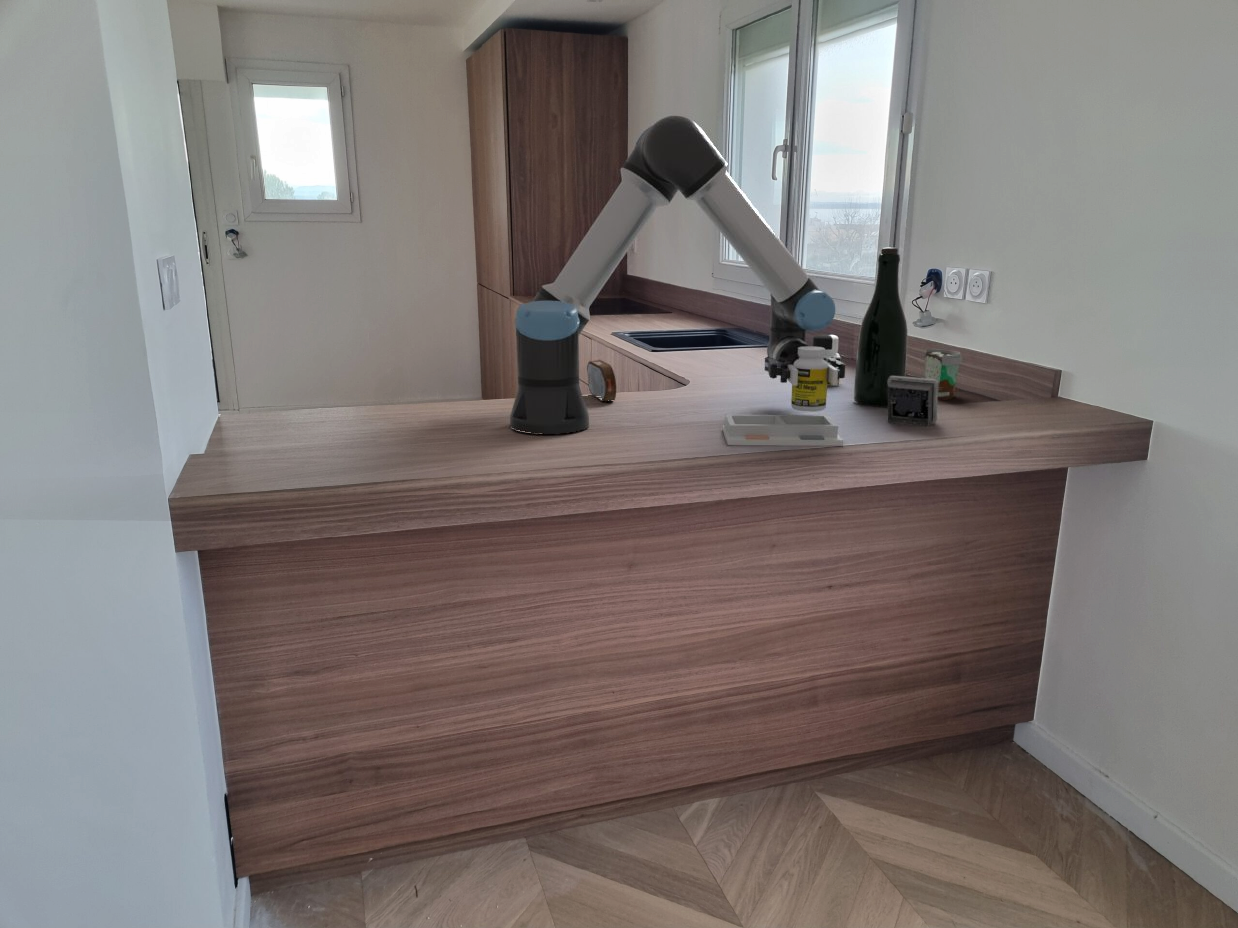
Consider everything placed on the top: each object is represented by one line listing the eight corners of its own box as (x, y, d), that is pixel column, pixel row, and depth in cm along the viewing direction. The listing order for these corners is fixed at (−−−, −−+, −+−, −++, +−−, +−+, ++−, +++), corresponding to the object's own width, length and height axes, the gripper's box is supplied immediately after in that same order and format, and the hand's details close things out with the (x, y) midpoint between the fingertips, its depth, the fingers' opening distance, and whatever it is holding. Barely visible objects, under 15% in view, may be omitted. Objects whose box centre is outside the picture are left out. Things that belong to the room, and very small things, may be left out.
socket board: (727, 445, 149) (728, 428, 149) (722, 430, 161) (723, 414, 160) (842, 445, 149) (844, 429, 148) (829, 430, 160) (830, 415, 159)
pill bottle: (790, 411, 152) (792, 349, 149) (791, 405, 158) (793, 345, 155) (826, 412, 151) (829, 350, 148) (825, 406, 157) (828, 345, 154)
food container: (967, 401, 189) (971, 355, 186) (939, 401, 189) (943, 356, 186) (947, 391, 200) (951, 348, 198) (921, 391, 201) (924, 348, 198)
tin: (617, 404, 187) (617, 366, 184) (603, 405, 186) (603, 366, 183) (598, 393, 200) (597, 357, 198) (585, 393, 199) (584, 357, 197)
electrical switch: (937, 423, 166) (940, 377, 163) (930, 431, 162) (933, 383, 159) (888, 418, 171) (891, 373, 168) (881, 425, 167) (883, 379, 164)
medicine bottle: (809, 385, 209) (811, 336, 206) (807, 380, 216) (810, 333, 213) (839, 386, 208) (842, 336, 205) (836, 381, 215) (839, 333, 212)
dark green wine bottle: (878, 409, 180) (890, 248, 171) (843, 401, 189) (853, 247, 180) (913, 404, 185) (927, 247, 176) (877, 397, 193) (889, 247, 185)
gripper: (841, 377, 171) (869, 399, 148) (745, 378, 172) (759, 399, 149) (844, 340, 169) (872, 355, 147) (746, 340, 170) (760, 356, 147)
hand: (815, 377), depth 148 cm, fingers closed on pill bottle, 6 cm apart
